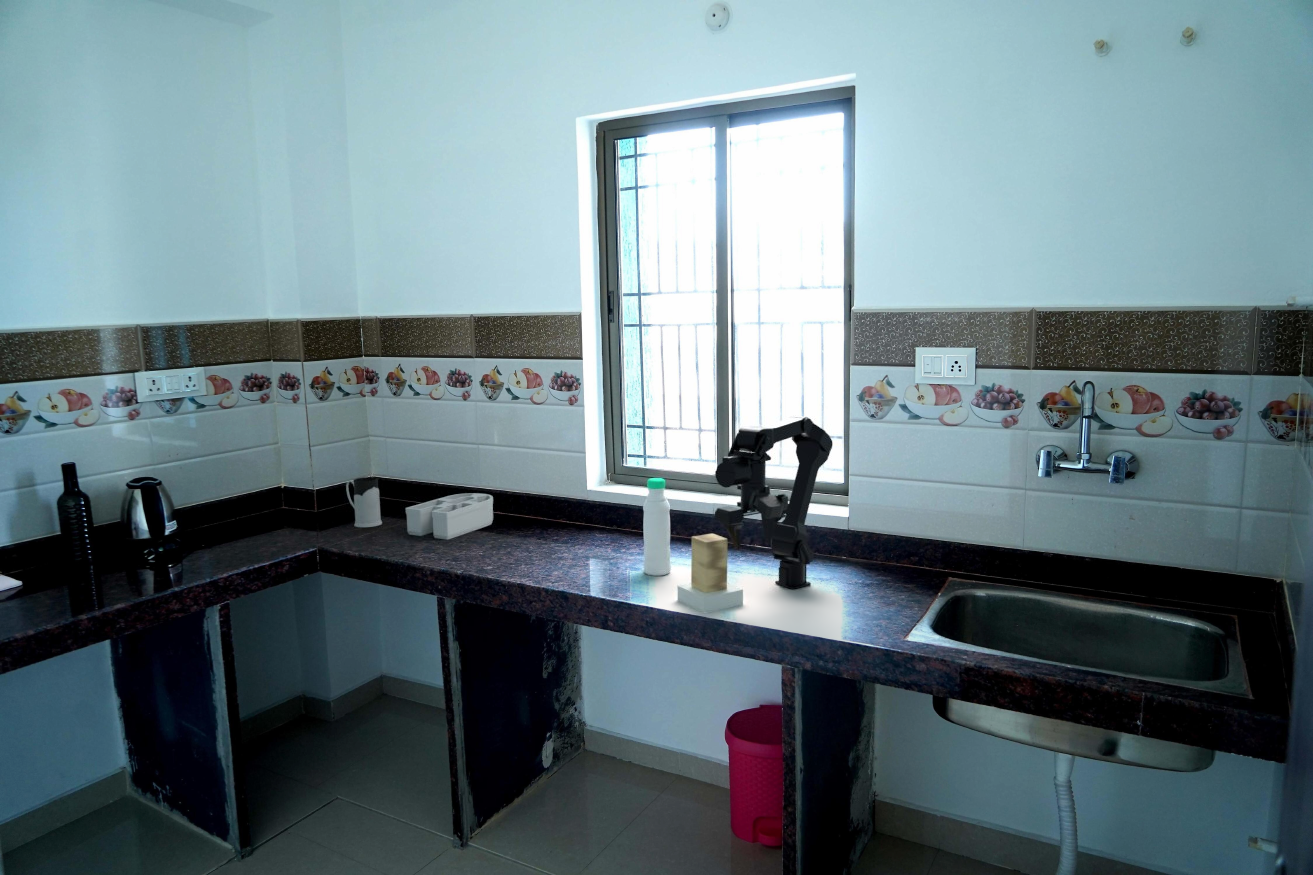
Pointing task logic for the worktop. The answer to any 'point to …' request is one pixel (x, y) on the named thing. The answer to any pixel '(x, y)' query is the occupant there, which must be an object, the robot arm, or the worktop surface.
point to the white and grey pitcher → (366, 502)
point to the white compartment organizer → (450, 515)
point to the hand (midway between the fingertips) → (752, 546)
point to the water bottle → (656, 529)
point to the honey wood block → (709, 563)
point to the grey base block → (710, 597)
